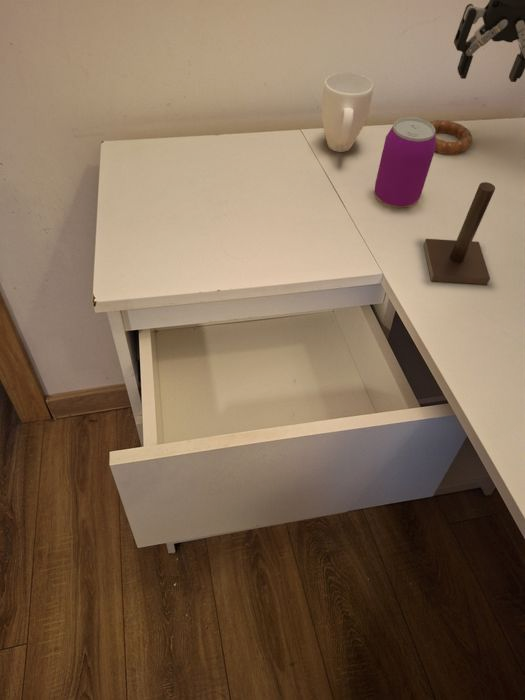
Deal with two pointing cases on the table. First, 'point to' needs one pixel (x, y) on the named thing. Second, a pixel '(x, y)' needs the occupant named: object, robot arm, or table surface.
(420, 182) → the beverage can
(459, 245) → the peg stand
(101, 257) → the table surface
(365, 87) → the mug
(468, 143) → the ring
